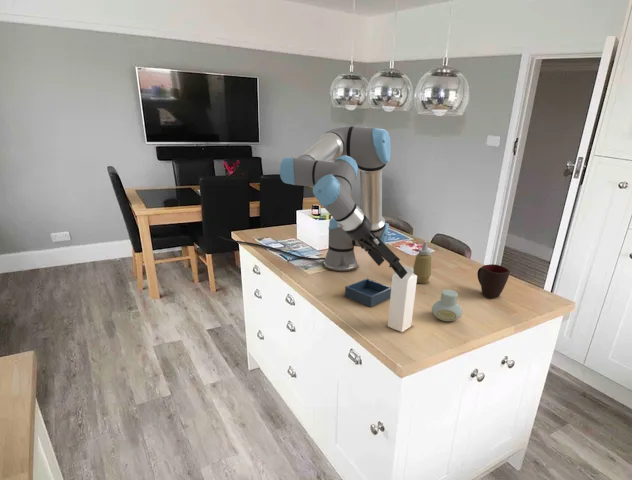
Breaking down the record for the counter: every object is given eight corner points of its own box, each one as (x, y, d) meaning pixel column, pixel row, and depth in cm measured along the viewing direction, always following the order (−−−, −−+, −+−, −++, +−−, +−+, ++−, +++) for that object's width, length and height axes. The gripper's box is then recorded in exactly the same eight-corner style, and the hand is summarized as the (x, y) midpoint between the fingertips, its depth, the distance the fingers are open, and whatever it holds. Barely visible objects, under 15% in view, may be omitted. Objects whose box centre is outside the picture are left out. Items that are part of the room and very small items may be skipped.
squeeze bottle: (429, 285, 179) (434, 245, 171) (410, 283, 180) (415, 243, 173) (430, 279, 186) (435, 240, 179) (412, 276, 187) (417, 238, 180)
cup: (489, 302, 168) (495, 274, 163) (467, 288, 179) (472, 262, 174) (507, 298, 172) (513, 271, 167) (485, 286, 183) (490, 260, 178)
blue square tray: (344, 296, 163) (345, 286, 161) (366, 287, 172) (367, 278, 171) (370, 307, 156) (371, 297, 154) (391, 297, 165) (392, 287, 164)
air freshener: (429, 320, 149) (433, 294, 145) (432, 310, 157) (435, 286, 153) (460, 325, 147) (465, 299, 143) (461, 315, 155) (465, 290, 151)
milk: (397, 320, 147) (403, 261, 138) (411, 326, 144) (418, 266, 135) (387, 326, 143) (392, 266, 134) (401, 332, 140) (408, 271, 131)
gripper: (327, 223, 130) (365, 265, 143) (366, 242, 111) (406, 290, 123) (344, 206, 131) (380, 250, 144) (385, 222, 111) (422, 272, 124)
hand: (392, 268), depth 134 cm, fingers open, 13 cm apart
